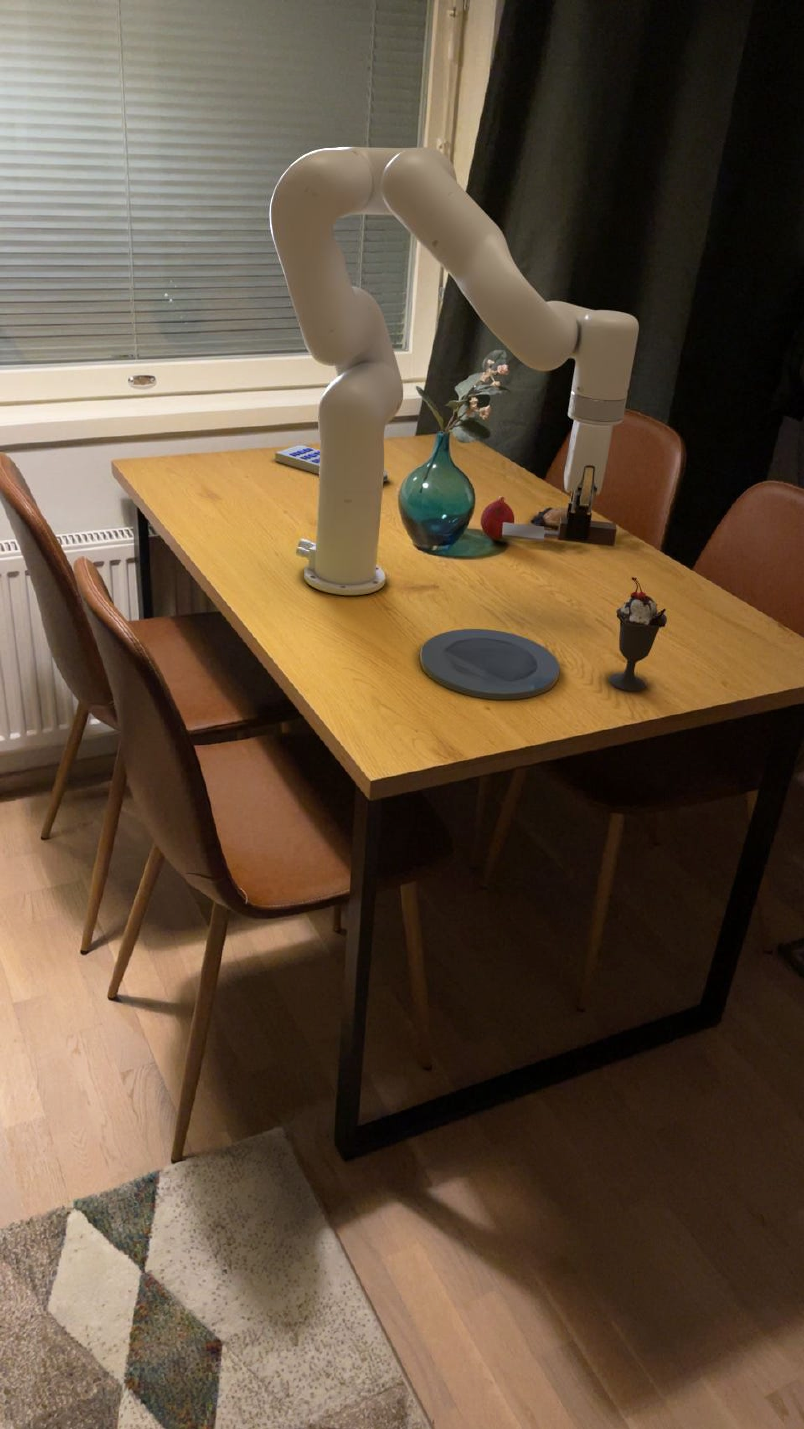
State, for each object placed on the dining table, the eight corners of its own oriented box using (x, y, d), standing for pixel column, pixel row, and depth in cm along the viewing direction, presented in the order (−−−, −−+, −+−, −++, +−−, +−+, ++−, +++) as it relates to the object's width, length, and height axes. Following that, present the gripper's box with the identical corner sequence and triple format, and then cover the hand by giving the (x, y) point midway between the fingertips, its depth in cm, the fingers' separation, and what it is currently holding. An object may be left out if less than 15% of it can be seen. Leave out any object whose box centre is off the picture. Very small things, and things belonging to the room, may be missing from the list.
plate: (393, 669, 150) (394, 662, 150) (461, 623, 165) (461, 616, 164) (521, 715, 142) (522, 708, 142) (580, 662, 157) (581, 655, 156)
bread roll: (594, 526, 206) (598, 507, 204) (584, 540, 199) (588, 520, 197) (538, 514, 209) (541, 495, 207) (526, 528, 202) (529, 508, 200)
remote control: (300, 454, 229) (300, 443, 228) (391, 480, 218) (392, 469, 217) (274, 461, 223) (275, 450, 222) (367, 489, 212) (368, 478, 211)
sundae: (596, 670, 155) (616, 569, 148) (644, 672, 156) (666, 572, 148) (608, 693, 149) (629, 590, 142) (657, 695, 150) (681, 592, 143)
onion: (509, 549, 192) (515, 504, 188) (475, 544, 193) (481, 499, 189) (513, 537, 197) (519, 493, 193) (480, 532, 198) (486, 488, 194)
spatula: (502, 537, 161) (504, 519, 159) (503, 524, 165) (505, 507, 164) (614, 549, 160) (617, 532, 159) (612, 536, 164) (615, 520, 163)
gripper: (568, 390, 160) (549, 513, 169) (570, 420, 146) (550, 552, 155) (620, 396, 160) (599, 519, 169) (628, 426, 146) (604, 558, 155)
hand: (575, 534), depth 162 cm, fingers closed on spatula, 2 cm apart
